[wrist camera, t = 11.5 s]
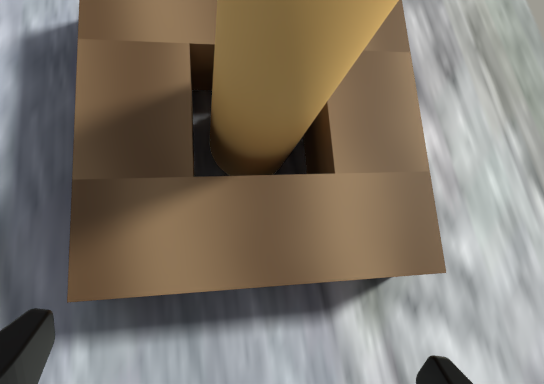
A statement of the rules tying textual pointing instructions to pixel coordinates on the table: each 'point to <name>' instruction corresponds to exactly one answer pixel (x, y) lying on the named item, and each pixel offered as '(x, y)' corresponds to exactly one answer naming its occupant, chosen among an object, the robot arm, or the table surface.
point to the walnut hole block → (237, 189)
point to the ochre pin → (280, 73)
